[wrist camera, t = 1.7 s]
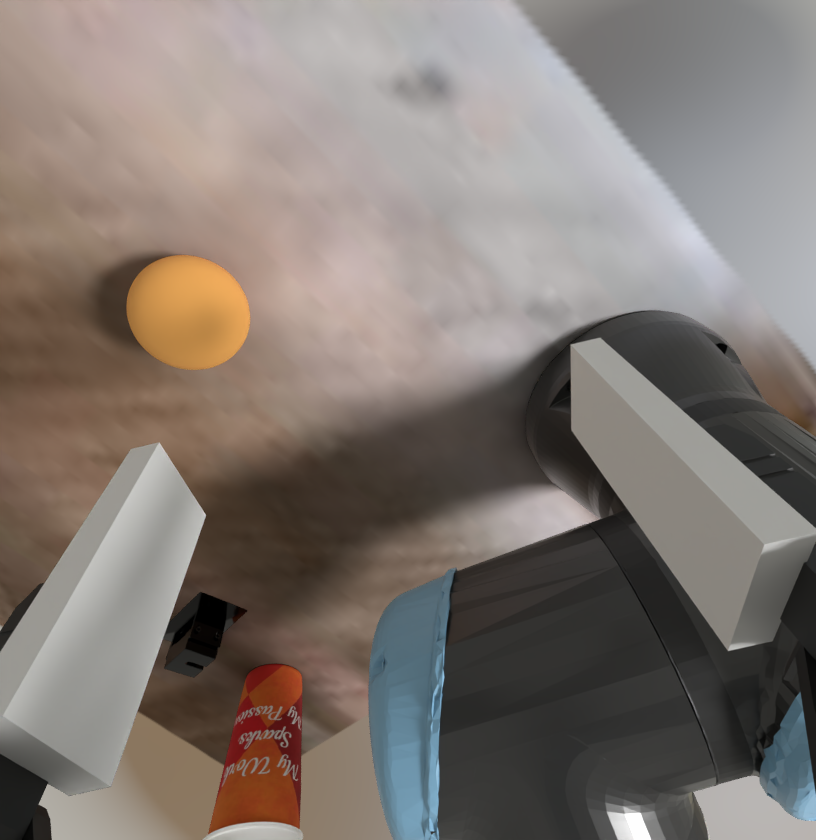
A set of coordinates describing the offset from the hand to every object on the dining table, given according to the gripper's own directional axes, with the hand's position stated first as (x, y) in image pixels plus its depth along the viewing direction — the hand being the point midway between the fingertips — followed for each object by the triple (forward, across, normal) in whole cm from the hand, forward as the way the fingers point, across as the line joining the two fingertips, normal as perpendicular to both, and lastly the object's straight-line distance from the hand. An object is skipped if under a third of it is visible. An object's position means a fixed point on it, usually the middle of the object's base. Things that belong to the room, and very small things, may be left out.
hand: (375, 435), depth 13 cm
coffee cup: (+18, +21, +41) cm, 49 cm away
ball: (+15, +9, 0) cm, 18 cm away
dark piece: (+19, +23, +29) cm, 42 cm away
